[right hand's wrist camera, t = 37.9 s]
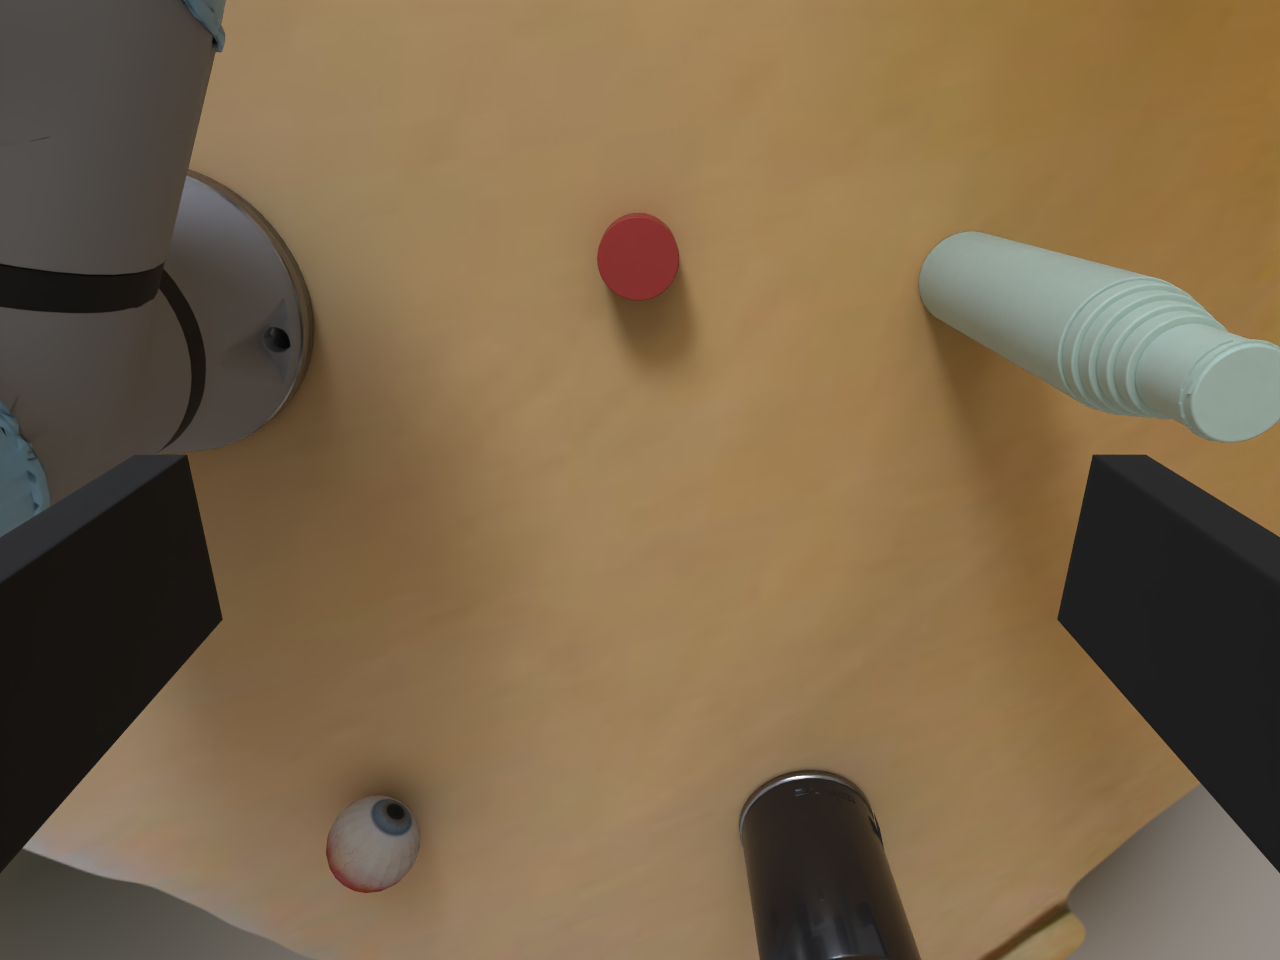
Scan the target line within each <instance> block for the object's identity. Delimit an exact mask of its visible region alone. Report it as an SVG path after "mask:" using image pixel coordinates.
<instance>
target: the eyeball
mask: <svg viewBox="0 0 1280 960" xmlns="http://www.w3.org/2000/svg"><path fill="white" fill-rule="evenodd" d="M419 848H420V829H419V826H418V823H417V820H416V818H415V816H414V815H413V813H412V812H411V810H410V809H409V808H408V807H407V806H406V805H405V804H403V803H402V802H400V801H399V800H397V799H395V798H392V797H388V796H383V795H374V796H368V797H365V798H362V799H359V800H357V801H355V802H353V803H352V804H351V805H349V806H348V807H347V808H346V809H345V810H344V811H342V812H341V813H340V814H339V816H338V817H337V818H336V820H335V822H334V824H333V826H332V828H331V830H330V832H329V835H328V839H327V848H326V855H327V859H328V863H329V867H330V869H331V871H332V873H333V874H334V876H335V878H336V879H337V880H338V881H339V882H341V883H342V884H343V885H344V886H346V887H348V888H350V889H352V890H354V891H358V892H363V893H370V892H378V891H382V890H384V889H387V888H389V887H391V886H393V885H395V884H396V883H398V882H399V881H400V880H401V879H402V878H403V877H404V876H405V875H406V873H407V872H408V871H409V870H410V869H411V868H412V866H413V864H414V862H415V859H416V856H417V854H418V851H419Z"/></svg>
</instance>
